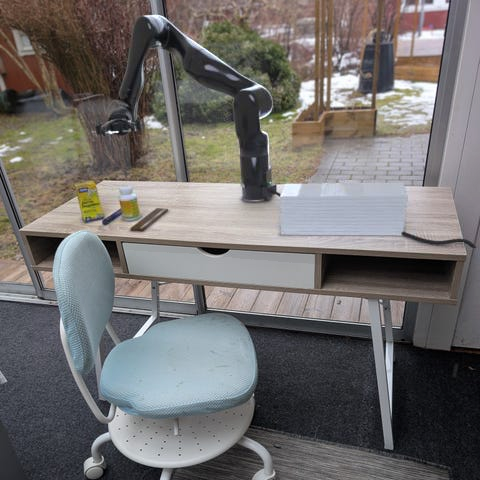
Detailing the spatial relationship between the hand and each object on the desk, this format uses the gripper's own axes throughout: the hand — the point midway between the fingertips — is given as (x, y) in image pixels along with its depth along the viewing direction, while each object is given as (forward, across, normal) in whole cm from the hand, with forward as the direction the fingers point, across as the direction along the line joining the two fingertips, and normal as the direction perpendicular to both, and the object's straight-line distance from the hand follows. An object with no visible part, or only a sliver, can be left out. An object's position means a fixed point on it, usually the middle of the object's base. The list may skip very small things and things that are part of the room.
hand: (117, 130), depth 145 cm
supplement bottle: (+11, 0, +24) cm, 27 cm away
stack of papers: (+40, +58, +24) cm, 74 cm away
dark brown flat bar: (+15, +6, +24) cm, 29 cm away
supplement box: (+7, -12, +24) cm, 28 cm away
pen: (+8, -5, +24) cm, 26 cm away
